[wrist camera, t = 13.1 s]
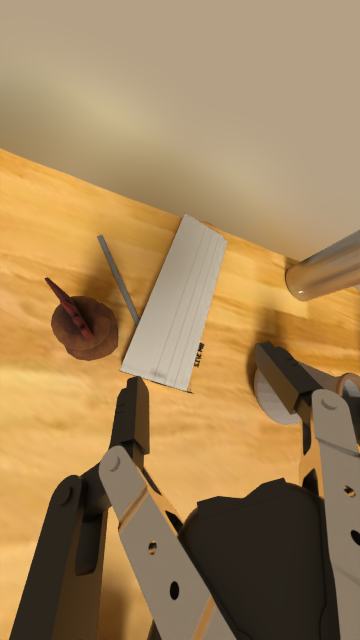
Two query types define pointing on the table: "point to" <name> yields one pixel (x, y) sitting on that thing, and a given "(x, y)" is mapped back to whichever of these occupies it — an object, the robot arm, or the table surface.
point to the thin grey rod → (119, 280)
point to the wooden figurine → (84, 326)
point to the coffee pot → (340, 385)
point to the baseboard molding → (177, 308)
